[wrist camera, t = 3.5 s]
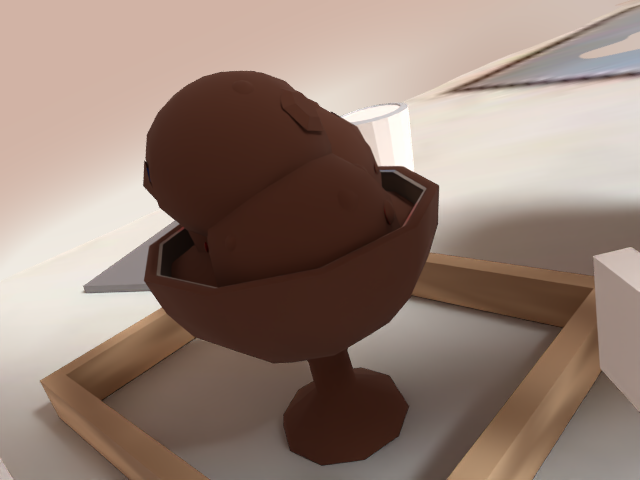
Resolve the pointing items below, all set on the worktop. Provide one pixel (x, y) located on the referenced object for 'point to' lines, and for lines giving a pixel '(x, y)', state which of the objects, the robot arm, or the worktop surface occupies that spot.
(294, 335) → the ice cream bowl
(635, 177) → the worktop surface
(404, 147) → the white cup
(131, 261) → the plate
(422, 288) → the wooden picture frame
